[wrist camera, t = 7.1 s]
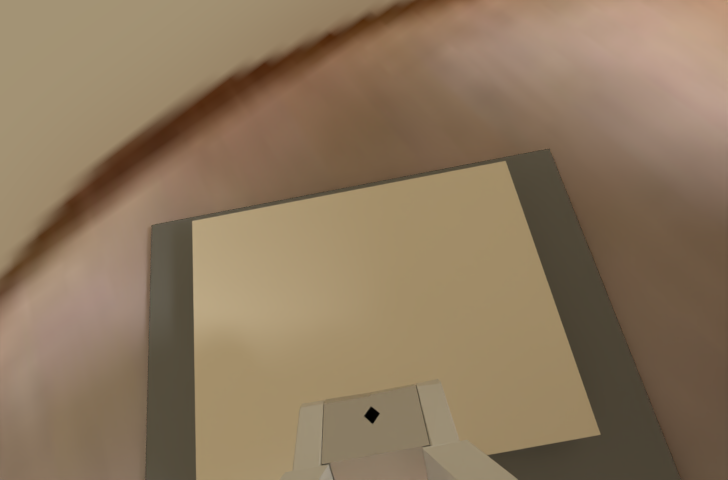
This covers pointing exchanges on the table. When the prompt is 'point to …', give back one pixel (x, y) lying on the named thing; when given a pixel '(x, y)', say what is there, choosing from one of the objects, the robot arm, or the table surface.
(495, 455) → the mat
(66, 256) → the table surface
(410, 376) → the tile
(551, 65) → the table surface
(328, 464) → the robot arm
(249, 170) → the table surface
